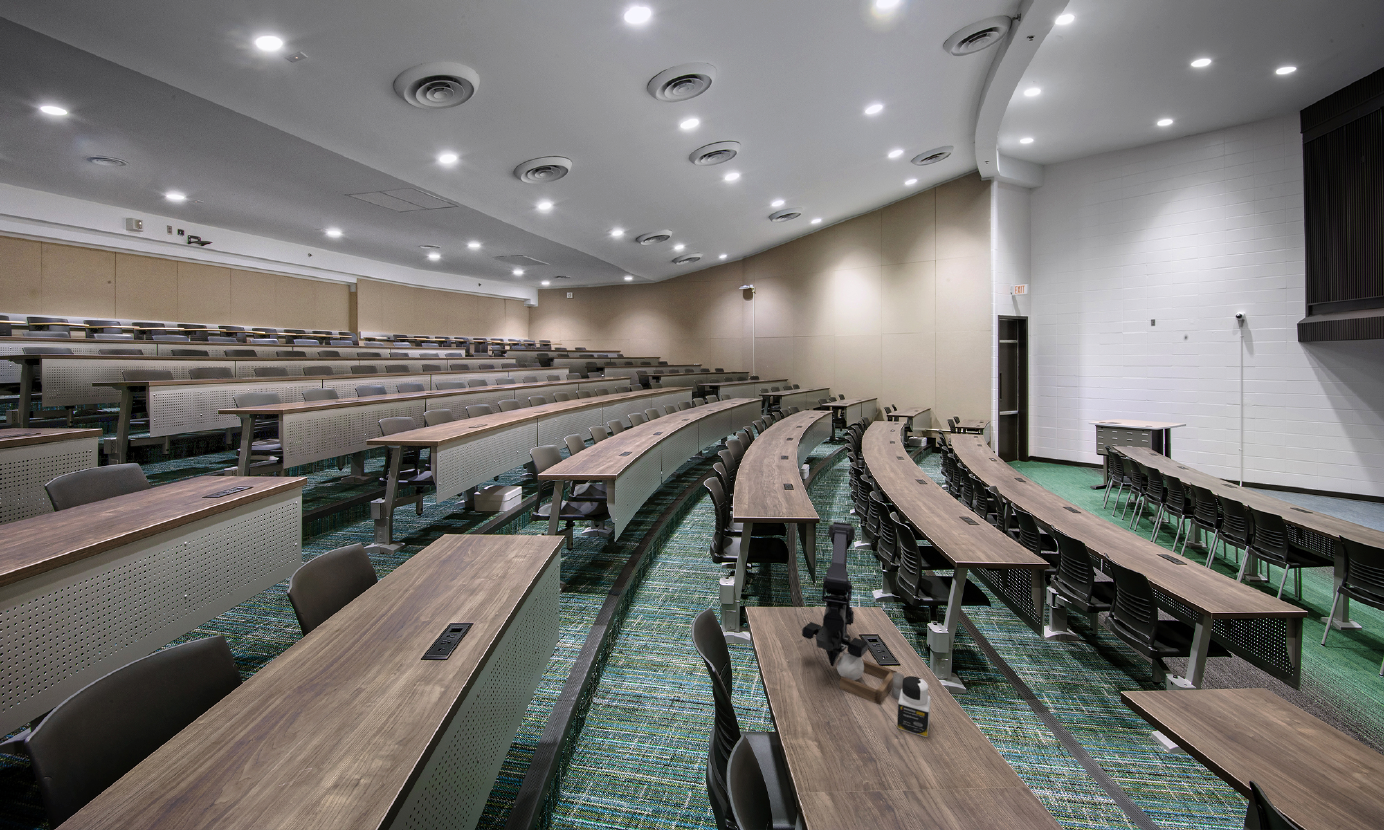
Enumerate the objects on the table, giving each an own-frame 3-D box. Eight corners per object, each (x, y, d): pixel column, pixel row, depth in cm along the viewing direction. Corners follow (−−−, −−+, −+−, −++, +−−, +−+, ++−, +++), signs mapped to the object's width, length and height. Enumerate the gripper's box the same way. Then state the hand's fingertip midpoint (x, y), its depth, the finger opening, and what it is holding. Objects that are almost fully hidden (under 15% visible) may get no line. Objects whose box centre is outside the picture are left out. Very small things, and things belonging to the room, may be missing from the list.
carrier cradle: (858, 667, 162) (858, 648, 161) (910, 686, 152) (911, 666, 152) (839, 688, 151) (840, 668, 150) (895, 710, 141) (896, 689, 141)
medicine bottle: (896, 728, 134) (898, 683, 133) (900, 712, 140) (902, 669, 139) (927, 738, 131) (929, 692, 130) (929, 721, 137) (931, 677, 136)
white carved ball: (836, 668, 160) (838, 643, 160) (862, 674, 158) (865, 649, 157) (835, 682, 153) (837, 657, 152) (862, 688, 151) (865, 663, 150)
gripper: (794, 615, 157) (792, 665, 159) (855, 636, 146) (851, 690, 147) (811, 603, 166) (809, 650, 167) (869, 622, 154) (866, 673, 155)
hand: (832, 665), depth 159 cm, fingers closed
